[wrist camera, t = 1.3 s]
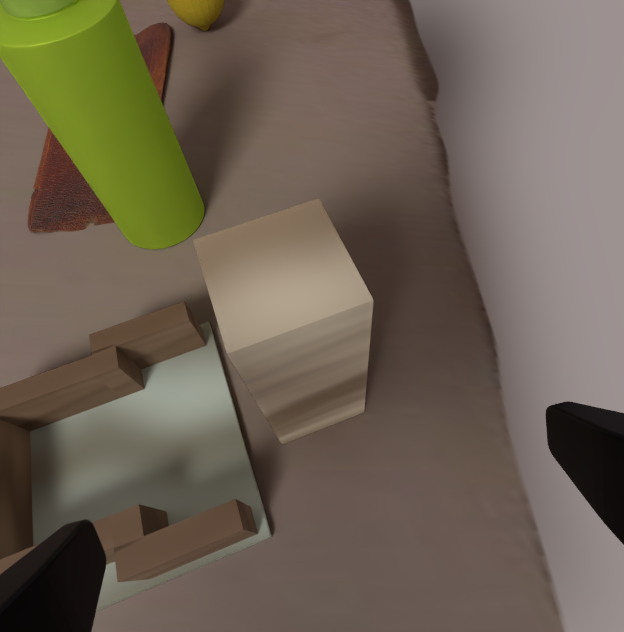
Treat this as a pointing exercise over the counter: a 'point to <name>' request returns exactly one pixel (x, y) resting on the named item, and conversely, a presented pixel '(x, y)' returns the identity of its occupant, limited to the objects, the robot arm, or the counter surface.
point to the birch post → (292, 316)
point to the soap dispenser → (103, 112)
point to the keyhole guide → (131, 455)
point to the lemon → (197, 11)
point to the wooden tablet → (62, 174)
